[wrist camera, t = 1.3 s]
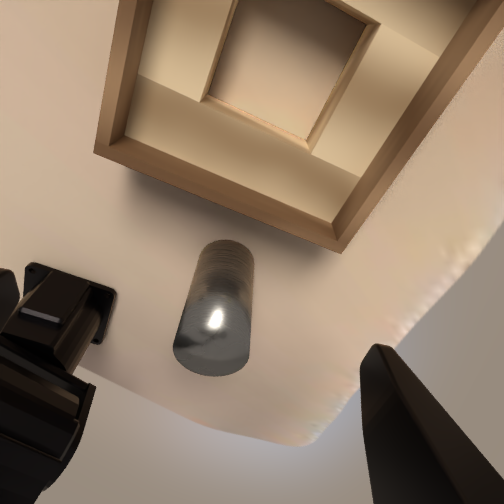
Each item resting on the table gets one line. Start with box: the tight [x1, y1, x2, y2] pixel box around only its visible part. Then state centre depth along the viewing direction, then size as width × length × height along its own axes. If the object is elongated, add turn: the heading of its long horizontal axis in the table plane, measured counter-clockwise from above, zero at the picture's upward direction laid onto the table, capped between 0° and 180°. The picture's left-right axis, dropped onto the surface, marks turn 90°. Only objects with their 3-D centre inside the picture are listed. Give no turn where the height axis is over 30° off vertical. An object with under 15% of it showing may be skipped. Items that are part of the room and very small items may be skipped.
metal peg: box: [173, 240, 254, 376], centre depth 21 cm, size 4×4×8 cm
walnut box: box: [93, 0, 504, 254], centre depth 15 cm, size 13×13×4 cm
